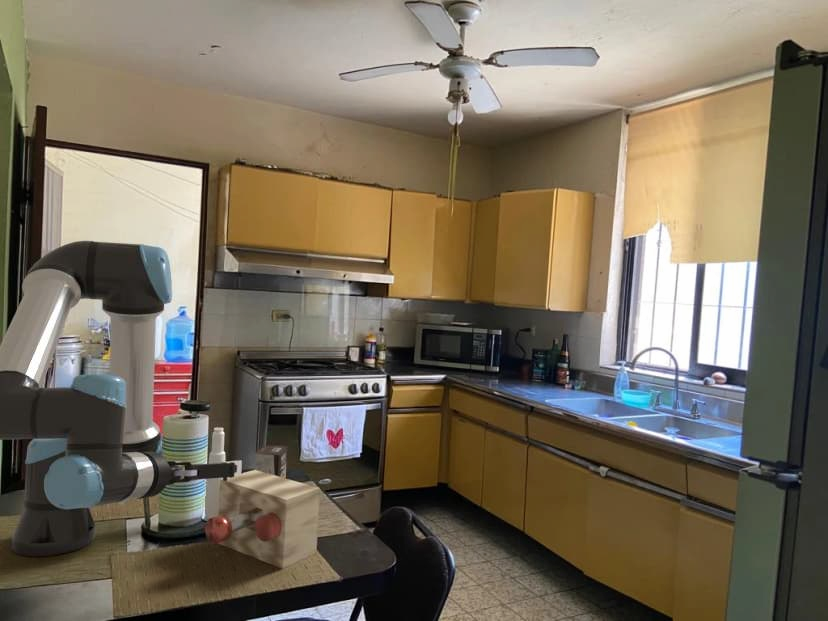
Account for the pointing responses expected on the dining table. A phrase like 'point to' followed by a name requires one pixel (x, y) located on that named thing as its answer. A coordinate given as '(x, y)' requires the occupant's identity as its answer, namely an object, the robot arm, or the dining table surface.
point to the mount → (272, 517)
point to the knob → (229, 524)
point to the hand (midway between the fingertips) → (209, 467)
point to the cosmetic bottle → (214, 483)
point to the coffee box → (271, 460)
